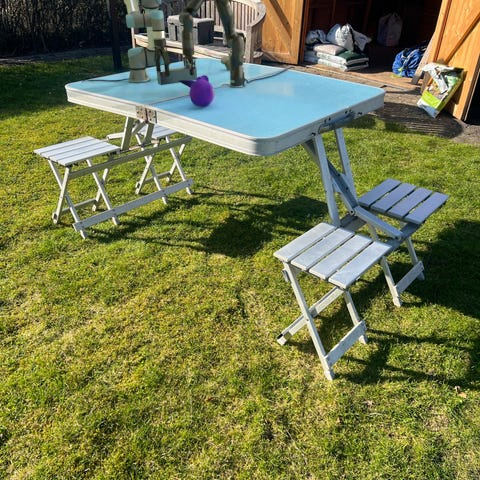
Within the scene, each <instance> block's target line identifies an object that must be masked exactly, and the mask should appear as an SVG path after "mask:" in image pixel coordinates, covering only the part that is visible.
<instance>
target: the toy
mask: <svg viewBox="0 0 480 480" xmlns="http://www.w3.org/2000/svg"><path fill="white" fill-rule="evenodd" d="M209 81H210V80H209V77H208V76H207V75H206V74H204V75H200V76H197V80H194V81H191V80H179V82H180V83H179V84H182V85H184V86H185V87H188V88H190V89H189V99H190V101H191V103H192V104H193V105H194V106H196V107H199V108H206V107H209V105H211V104H212V102H213V101H214V99H215V97H216V96H215V95H216V94H215V88H214V85H213V84H212V83H211V82H209Z"/></svg>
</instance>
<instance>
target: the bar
mask: <svg viewBox="0 0 480 480" xmlns="http://www.w3.org/2000/svg"><path fill="white" fill-rule="evenodd" d="M169 72H170V76H167V77H165V69H161V70H160V71H157V70H156V78H157V85H160V86H167V85H173V84H181V83H180V82H179V80H191V81H196V80H197V78H198V70H197V66H195V69H194V75H191V73H190V66H189V67H184V66H183V67H177V68H176V67H175V68H169Z"/></svg>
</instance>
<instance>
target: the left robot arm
mask: <svg viewBox="0 0 480 480" xmlns="http://www.w3.org/2000/svg"><path fill="white" fill-rule="evenodd" d="M123 3H124V5H125V6H126V10H127V14H126V15H125V20H126V22H125V23H126V27H127V28H129V29H138V28H146V34H147V35H146V36H147V44H146V48H144V47H143V46H137V47H132V48H130V49H128V50H127V57H128V64H129V65H128V66H129V76H128V78H127V77H126V78H122V79H83V80H82V83H84V82H86V81H88V82H122V81H128V82H129V83H133V84H141V83H148V82H150V75H149V74H148V71H147V67H149V66H150V67H151V66H155V70H156V72H157V71H160V70H162V69H161V66H162V65H163V66H164V70H165V77H167V76H170V72H169V69H170V65H171V61H170V56H169V53H168V48H167V47H165V46H167V39H166V34H167V33H166V28H165V15H164V11H163V10H161V9H160V5H162V0H123ZM139 6H142V7H141V8H142V9H143V10H144V13H141V11H140V7H139ZM159 9H160V10H159ZM83 81H84V82H83ZM88 130H90V128H88Z"/></svg>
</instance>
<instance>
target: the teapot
mask: <svg viewBox="0 0 480 480" xmlns="http://www.w3.org/2000/svg"><path fill="white" fill-rule="evenodd" d="M227 55H228V56H223V57H221V59H220V63H221V64H222V65H224V67H225V68H226V70H229V71H230V56H231V55H232V49H231V50H229V53H228V54H227ZM244 60H245V57H243V62H244Z"/></svg>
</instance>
